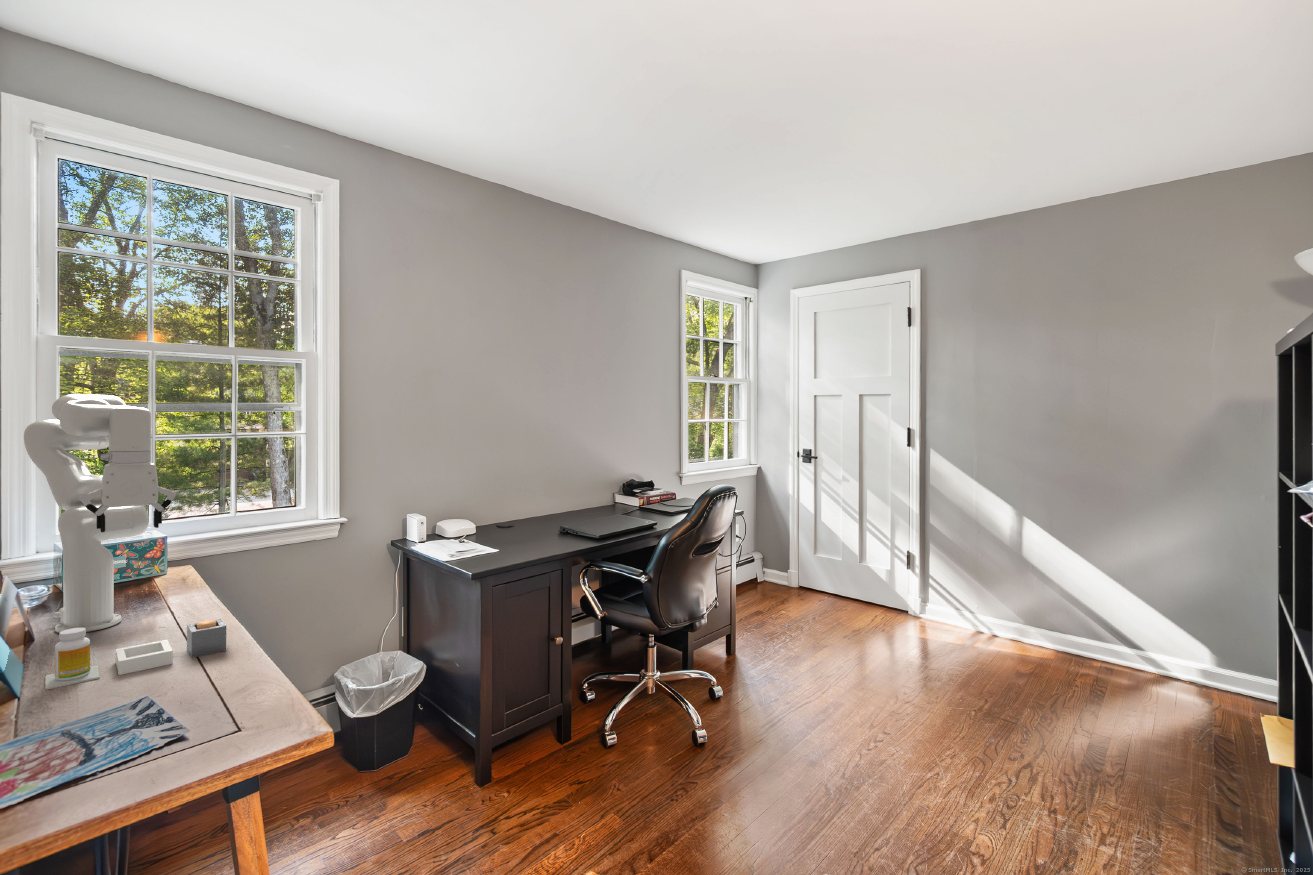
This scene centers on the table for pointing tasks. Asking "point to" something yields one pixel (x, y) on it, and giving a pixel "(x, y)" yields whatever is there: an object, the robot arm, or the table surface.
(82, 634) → the supplement bottle
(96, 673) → the mat
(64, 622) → the robot arm
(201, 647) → the egg pedestal
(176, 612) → the table surface
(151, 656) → the collar
